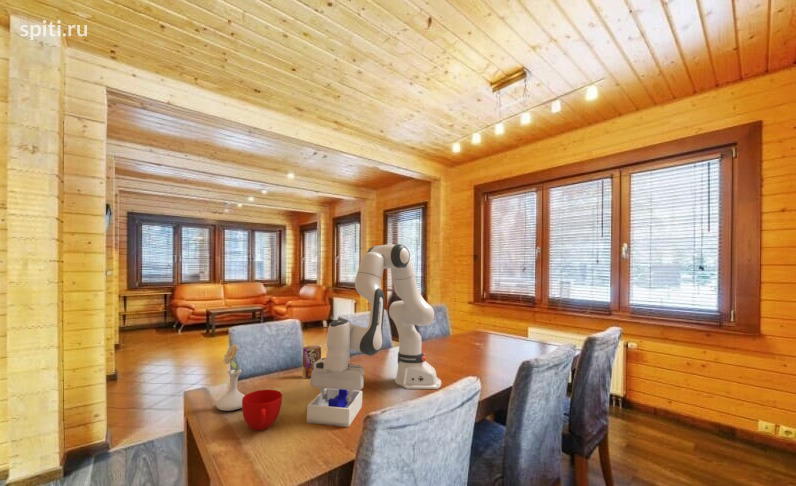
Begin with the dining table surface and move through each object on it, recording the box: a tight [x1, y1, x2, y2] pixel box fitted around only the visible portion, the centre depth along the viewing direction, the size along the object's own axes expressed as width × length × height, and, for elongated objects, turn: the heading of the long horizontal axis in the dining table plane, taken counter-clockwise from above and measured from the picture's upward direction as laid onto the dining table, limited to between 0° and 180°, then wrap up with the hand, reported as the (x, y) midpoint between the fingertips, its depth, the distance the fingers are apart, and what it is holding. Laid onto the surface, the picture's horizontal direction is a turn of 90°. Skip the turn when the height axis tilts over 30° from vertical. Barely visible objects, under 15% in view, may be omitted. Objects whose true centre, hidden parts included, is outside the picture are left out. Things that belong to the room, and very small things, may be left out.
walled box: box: [306, 388, 363, 428], centre depth 127 cm, size 16×18×6 cm
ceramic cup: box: [241, 389, 283, 431], centre depth 115 cm, size 13×17×10 cm
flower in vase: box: [216, 343, 246, 412], centre depth 131 cm, size 13×11×25 cm
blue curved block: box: [328, 389, 348, 408], centre depth 128 cm, size 12×4×6 cm, turn 169°
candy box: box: [301, 344, 323, 379], centre depth 168 cm, size 9×4×15 cm, turn 99°
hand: (336, 400), depth 127 cm, fingers open, 8 cm apart
